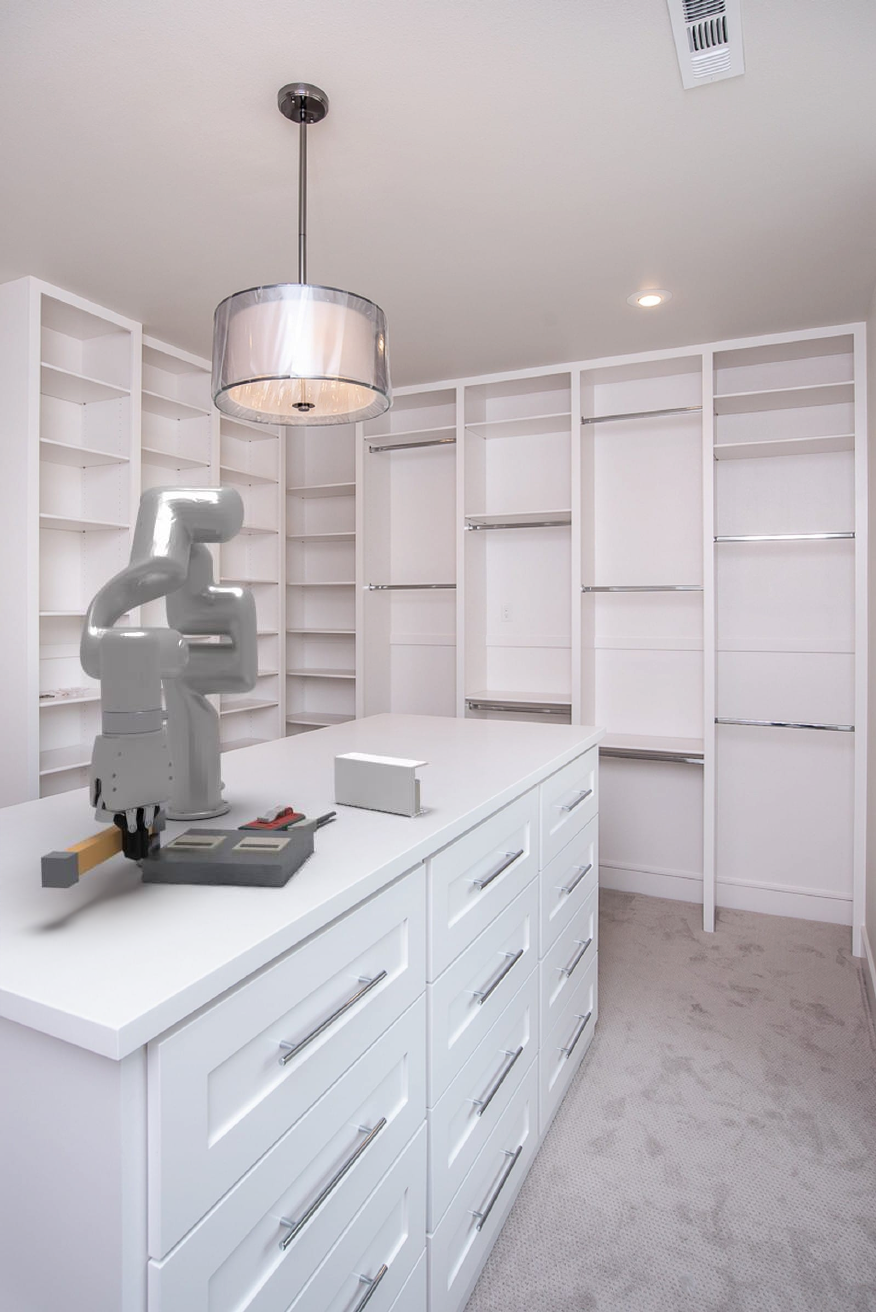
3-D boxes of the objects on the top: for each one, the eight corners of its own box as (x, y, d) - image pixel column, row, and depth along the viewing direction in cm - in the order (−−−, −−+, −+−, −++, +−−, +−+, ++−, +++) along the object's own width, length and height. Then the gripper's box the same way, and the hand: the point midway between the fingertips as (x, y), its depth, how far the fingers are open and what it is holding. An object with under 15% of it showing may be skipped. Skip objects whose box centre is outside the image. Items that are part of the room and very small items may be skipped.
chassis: (191, 847, 123) (190, 825, 123) (313, 850, 121) (313, 828, 120) (142, 881, 107) (141, 856, 107) (282, 886, 105) (281, 861, 105)
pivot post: (145, 857, 118) (144, 828, 117) (173, 858, 117) (172, 829, 117) (130, 867, 113) (130, 836, 113) (159, 867, 113) (158, 837, 113)
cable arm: (145, 827, 117) (144, 804, 117) (170, 828, 117) (169, 804, 116) (38, 887, 92) (37, 857, 91) (70, 888, 91) (69, 858, 91)
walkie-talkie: (275, 853, 121) (340, 821, 139) (275, 825, 121) (340, 797, 139) (229, 846, 124) (299, 816, 143) (229, 819, 124) (298, 792, 142)
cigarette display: (429, 811, 145) (429, 762, 144) (411, 818, 140) (411, 767, 140) (348, 797, 156) (348, 751, 155) (329, 803, 151) (329, 755, 151)
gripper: (165, 714, 111) (168, 839, 112) (62, 727, 99) (67, 867, 101) (197, 718, 107) (200, 848, 108) (93, 733, 95) (98, 879, 96)
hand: (136, 857), depth 104 cm, fingers closed
